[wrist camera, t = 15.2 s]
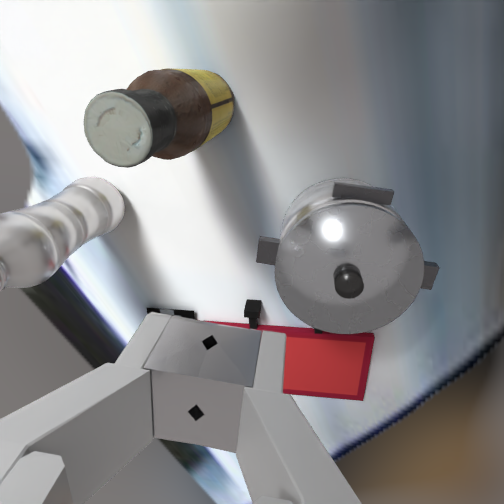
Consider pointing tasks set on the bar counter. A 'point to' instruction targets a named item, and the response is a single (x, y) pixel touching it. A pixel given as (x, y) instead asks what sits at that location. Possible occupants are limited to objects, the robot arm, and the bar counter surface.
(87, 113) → the sauce bottle
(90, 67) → the bar counter surface
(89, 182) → the plastic bottle
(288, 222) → the pot
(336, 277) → the lid
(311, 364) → the red board with handle
